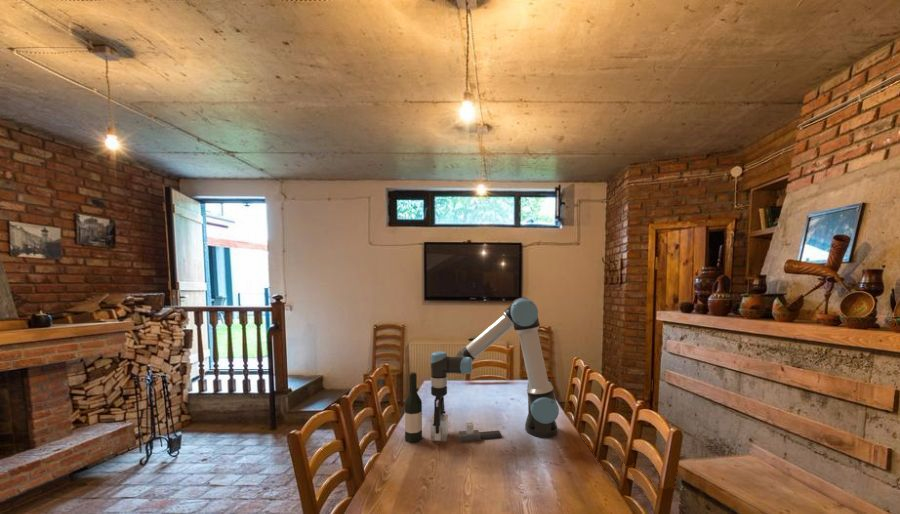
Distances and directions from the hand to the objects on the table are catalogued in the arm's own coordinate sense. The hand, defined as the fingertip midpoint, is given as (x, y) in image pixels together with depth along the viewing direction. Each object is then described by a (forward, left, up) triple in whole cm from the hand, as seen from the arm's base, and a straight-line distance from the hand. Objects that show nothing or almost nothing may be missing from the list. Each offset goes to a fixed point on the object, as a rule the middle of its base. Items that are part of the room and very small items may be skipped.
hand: (439, 433), depth 152 cm
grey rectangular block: (0, 0, -2) cm, 2 cm away
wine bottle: (+12, +2, -2) cm, 12 cm away
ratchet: (-19, -1, -2) cm, 19 cm away
